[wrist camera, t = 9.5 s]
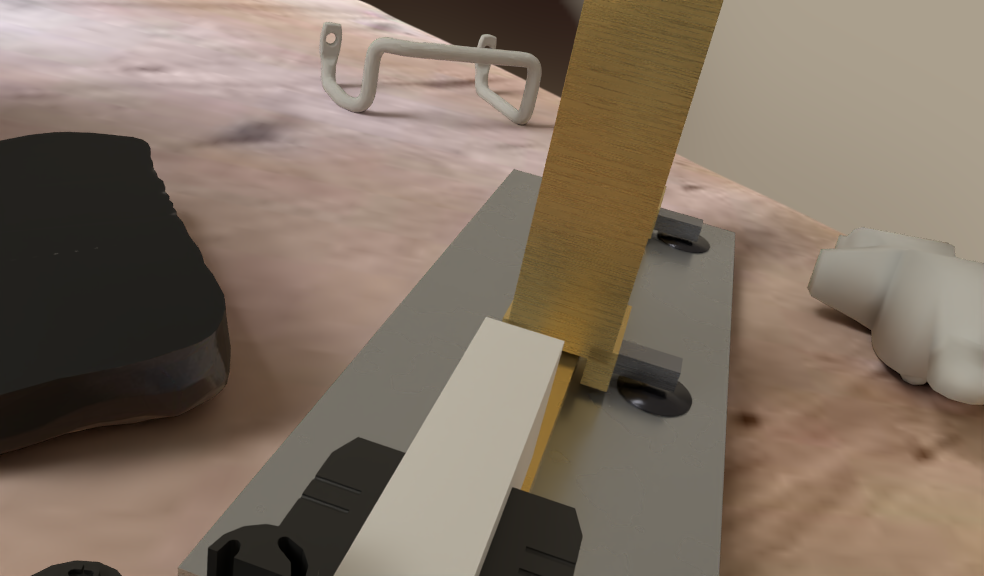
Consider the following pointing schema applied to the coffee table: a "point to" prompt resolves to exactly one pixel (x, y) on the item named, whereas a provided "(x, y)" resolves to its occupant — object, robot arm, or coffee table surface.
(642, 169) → the sliding leg
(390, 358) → the steel plate
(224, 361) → the black sponge
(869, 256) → the bunny figurine
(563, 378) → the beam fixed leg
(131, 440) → the coffee table surface
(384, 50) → the bracket
